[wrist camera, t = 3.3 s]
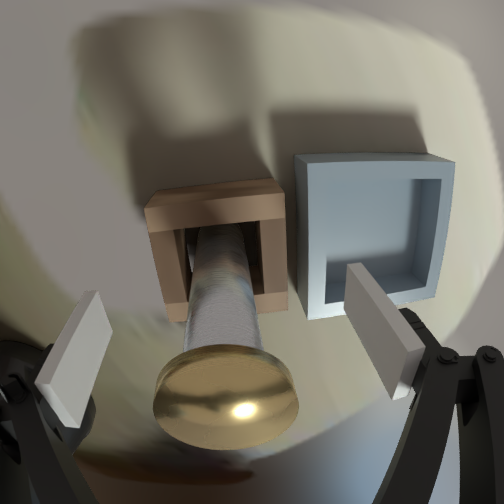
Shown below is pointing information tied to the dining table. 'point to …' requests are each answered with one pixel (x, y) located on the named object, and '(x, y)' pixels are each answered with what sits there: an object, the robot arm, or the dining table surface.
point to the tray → (370, 224)
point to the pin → (223, 358)
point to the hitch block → (214, 213)
